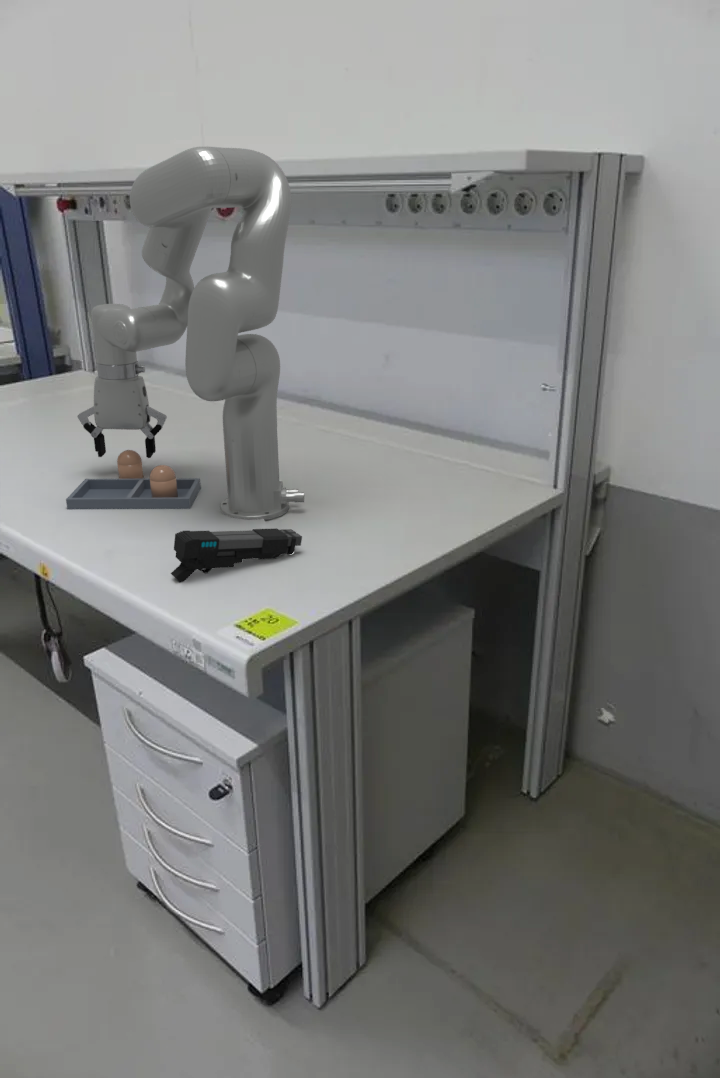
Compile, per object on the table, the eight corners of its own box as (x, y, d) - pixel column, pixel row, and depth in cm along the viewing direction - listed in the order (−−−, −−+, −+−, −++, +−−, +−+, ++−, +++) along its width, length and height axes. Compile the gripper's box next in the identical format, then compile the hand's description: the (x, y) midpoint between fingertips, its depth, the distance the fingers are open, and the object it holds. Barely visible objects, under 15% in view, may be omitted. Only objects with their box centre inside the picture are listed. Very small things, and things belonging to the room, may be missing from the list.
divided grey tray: (201, 490, 159) (200, 478, 158) (190, 511, 148) (188, 498, 147) (87, 490, 158) (85, 478, 157) (67, 512, 148) (65, 499, 147)
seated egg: (180, 493, 155) (177, 461, 153) (175, 502, 151) (171, 469, 148) (155, 493, 155) (151, 461, 153) (149, 502, 151) (145, 469, 148)
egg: (146, 476, 166) (142, 446, 164) (140, 484, 162) (137, 453, 159) (123, 476, 166) (119, 446, 164) (116, 484, 162) (112, 453, 159)
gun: (164, 575, 123) (179, 513, 121) (275, 584, 135) (291, 528, 133) (174, 586, 119) (191, 522, 117) (288, 594, 131) (304, 537, 129)
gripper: (166, 367, 159) (172, 450, 166) (78, 365, 159) (88, 449, 166) (158, 376, 152) (165, 462, 159) (66, 374, 152) (77, 460, 159)
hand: (126, 455), depth 162 cm, fingers open, 9 cm apart
